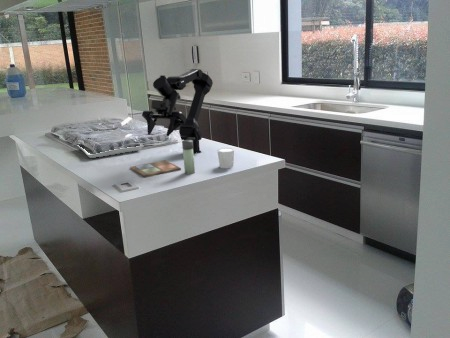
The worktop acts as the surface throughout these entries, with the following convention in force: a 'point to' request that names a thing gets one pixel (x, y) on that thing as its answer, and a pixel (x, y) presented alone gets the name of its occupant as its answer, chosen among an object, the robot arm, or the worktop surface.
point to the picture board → (155, 168)
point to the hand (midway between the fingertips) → (157, 134)
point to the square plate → (112, 151)
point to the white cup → (226, 157)
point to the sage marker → (188, 156)
